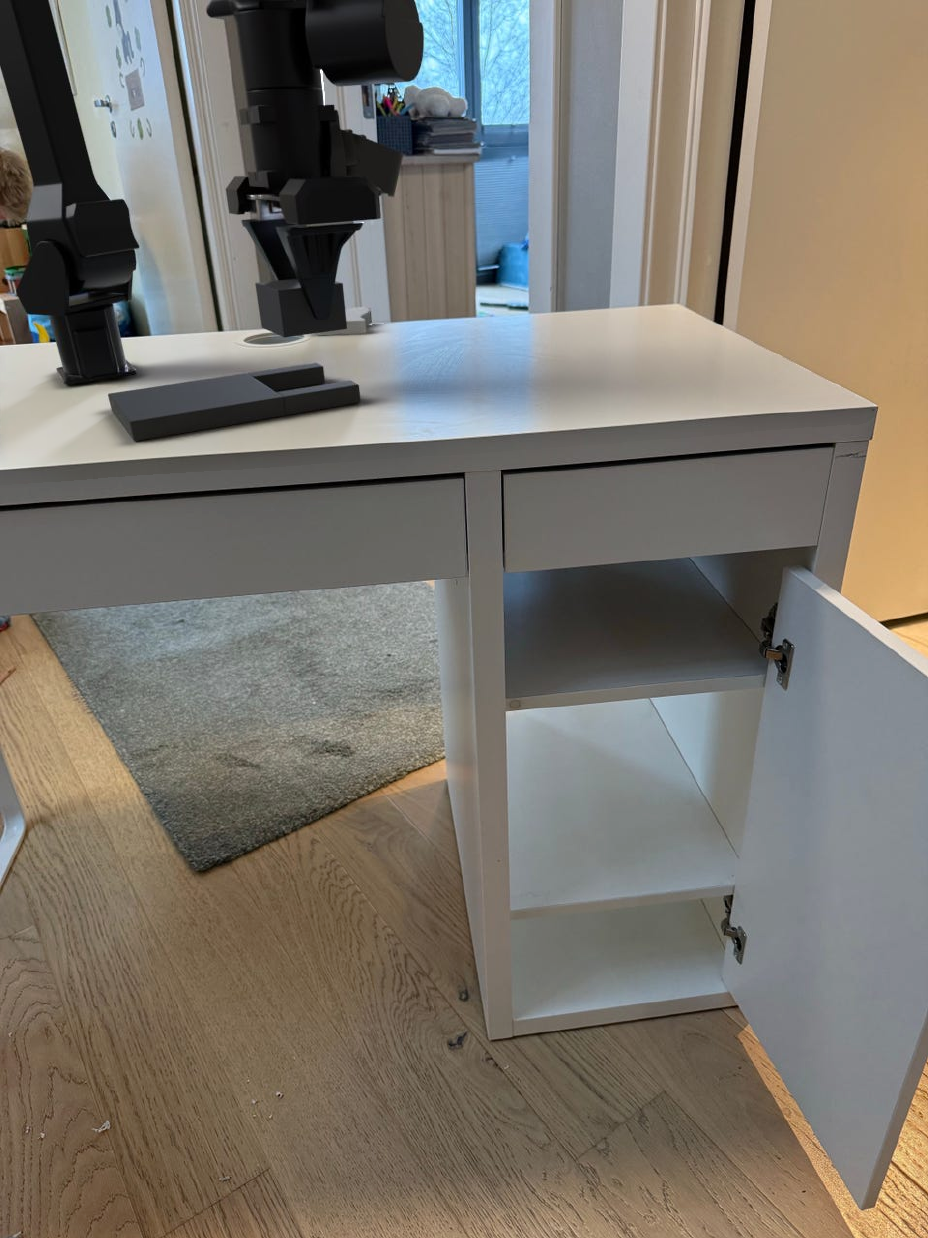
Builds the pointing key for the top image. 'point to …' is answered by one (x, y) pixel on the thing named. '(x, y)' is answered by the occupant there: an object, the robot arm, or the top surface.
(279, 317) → the dark grey rectangular block
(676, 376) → the top surface
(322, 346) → the top surface
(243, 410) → the base pad
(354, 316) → the light grey notched plate
